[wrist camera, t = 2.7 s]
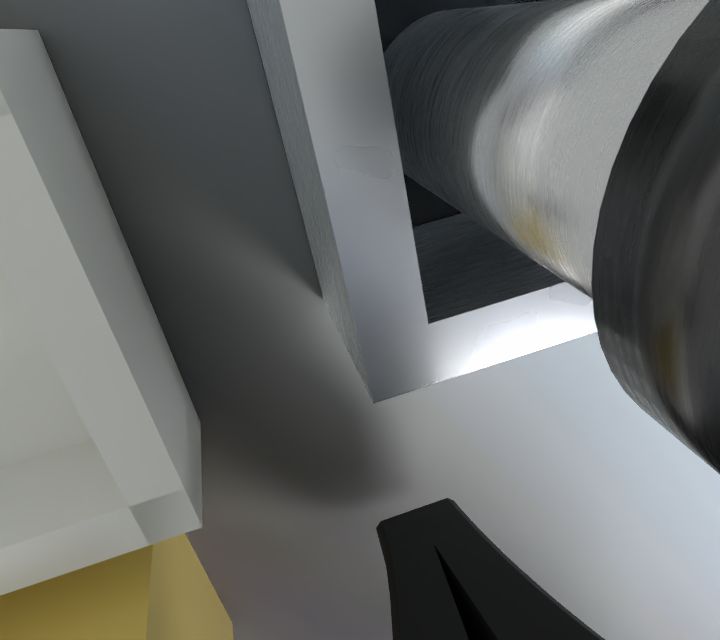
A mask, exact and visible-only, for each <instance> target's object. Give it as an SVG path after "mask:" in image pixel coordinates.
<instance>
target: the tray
mask: <svg viewBox="0 0 720 640" xmlns="http://www.w3.org/2000/svg"><path fill="white" fill-rule="evenodd" d="M199 528H202V474H201V423H200V420H199V418H198V415H197V413H196V411H195V408H194V406H193V403H192V401H191V398H190V396H189V394H188V391H187V389H186V386H185V384H184V382H183V379H182V377H181V374H180V372H179V369H178V367H177V365H176V362H175V360H174V357H173V355H172V353H171V350H170V348H169V345H168V343H167V341H166V338H165V336H164V333H163V331H162V328H161V326H160V324H159V321H158V319H157V316H156V314H155V312H154V309H153V307H152V304H151V302H150V299H149V297H148V295H147V292H146V290H145V287H144V285H143V283H142V280H141V278H140V275H139V273H138V270H137V268H136V266H135V263H134V261H133V258H132V256H131V254H130V251H129V249H128V246H127V244H126V241H125V239H124V237H123V234H122V232H121V229H120V227H119V225H118V222H117V220H116V217H115V215H114V212H113V210H112V208H111V205H110V203H109V200H108V198H107V196H106V193H105V191H104V188H103V186H102V184H101V181H100V179H99V176H98V174H97V171H96V169H95V167H94V164H93V162H92V159H91V157H90V155H89V152H88V150H87V147H86V145H85V142H84V140H83V138H82V135H81V133H80V130H79V128H78V126H77V123H76V121H75V118H74V116H73V113H72V111H71V109H70V106H69V104H68V101H67V99H66V97H65V94H64V92H63V89H62V87H61V84H60V82H59V80H58V77H57V75H56V72H55V70H54V68H53V65H52V63H51V60H50V58H49V55H48V53H47V51H46V48H45V46H44V43H43V41H42V39H41V36H40V34H39V31H38V30H24V29H0V596H1V595H4V594H7V593H10V592H12V591H15V590H18V589H21V588H24V587H27V586H30V585H33V584H36V583H39V582H42V581H45V580H48V579H51V578H54V577H57V576H60V575H63V574H66V573H69V572H72V571H75V570H78V569H81V568H84V567H87V566H90V565H93V564H96V563H99V562H102V561H104V560H107V559H110V558H113V557H116V556H119V555H122V554H125V553H128V552H131V551H134V550H137V549H140V548H143V547H146V546H149V545H152V544H155V543H158V542H161V541H164V540H167V539H170V538H173V537H176V536H179V535H182V534H185V533H188V532H191V531H194V530H196V529H199Z"/></svg>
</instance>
